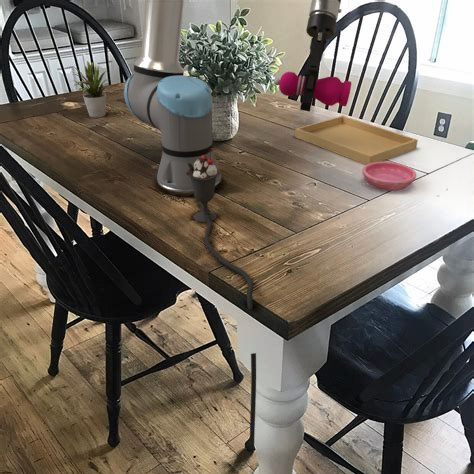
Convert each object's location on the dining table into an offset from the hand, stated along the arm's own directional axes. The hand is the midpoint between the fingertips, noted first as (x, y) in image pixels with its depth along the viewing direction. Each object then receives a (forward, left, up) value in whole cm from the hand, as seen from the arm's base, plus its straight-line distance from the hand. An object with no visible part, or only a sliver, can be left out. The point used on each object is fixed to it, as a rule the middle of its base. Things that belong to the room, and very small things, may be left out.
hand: (305, 106), depth 144 cm
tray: (+2, -15, -11) cm, 19 cm away
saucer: (-26, -14, -11) cm, 32 cm away
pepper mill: (-1, -11, +3) cm, 12 cm away
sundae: (-37, +31, -11) cm, 49 cm away
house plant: (+40, +59, -11) cm, 72 cm away
